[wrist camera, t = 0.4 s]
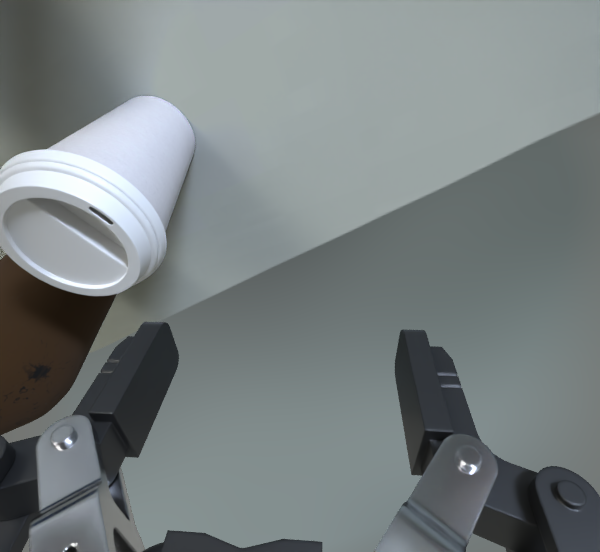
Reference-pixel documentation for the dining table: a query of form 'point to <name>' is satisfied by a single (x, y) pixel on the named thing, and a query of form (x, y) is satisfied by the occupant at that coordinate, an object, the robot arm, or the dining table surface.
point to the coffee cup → (98, 199)
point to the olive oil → (41, 342)
